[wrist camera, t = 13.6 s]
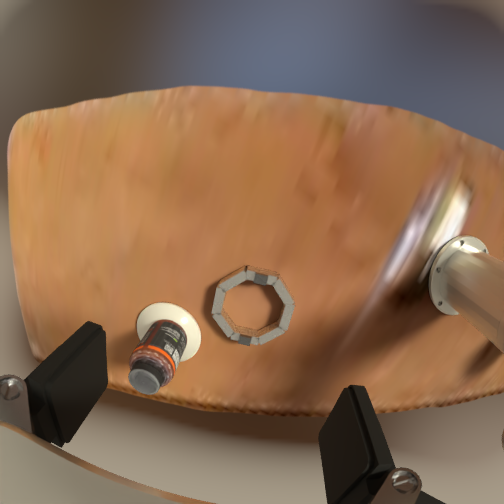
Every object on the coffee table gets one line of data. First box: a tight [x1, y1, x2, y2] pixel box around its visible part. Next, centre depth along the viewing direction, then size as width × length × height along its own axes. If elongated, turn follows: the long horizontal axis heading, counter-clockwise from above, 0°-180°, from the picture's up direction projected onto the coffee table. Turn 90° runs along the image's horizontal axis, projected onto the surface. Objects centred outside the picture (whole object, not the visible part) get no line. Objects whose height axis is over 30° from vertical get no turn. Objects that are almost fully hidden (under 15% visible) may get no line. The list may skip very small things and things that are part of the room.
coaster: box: [137, 302, 201, 362], centre depth 41 cm, size 10×10×1 cm
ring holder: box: [212, 265, 295, 346], centre depth 38 cm, size 10×10×3 cm
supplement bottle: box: [128, 319, 187, 394], centre depth 36 cm, size 6×6×11 cm
